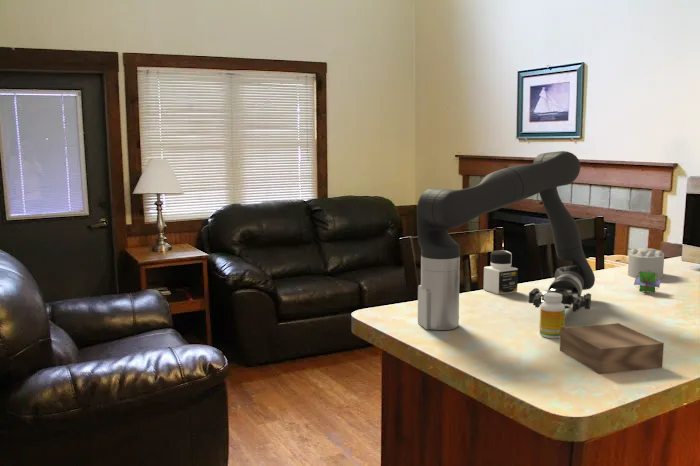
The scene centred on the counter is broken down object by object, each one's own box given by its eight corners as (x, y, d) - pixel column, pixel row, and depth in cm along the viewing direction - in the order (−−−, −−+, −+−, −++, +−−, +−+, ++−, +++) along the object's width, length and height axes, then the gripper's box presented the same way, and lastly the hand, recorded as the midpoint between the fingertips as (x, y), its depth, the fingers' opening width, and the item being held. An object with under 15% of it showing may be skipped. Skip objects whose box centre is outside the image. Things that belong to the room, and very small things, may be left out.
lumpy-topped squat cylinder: (663, 273, 211) (665, 247, 210) (661, 281, 200) (663, 254, 198) (629, 270, 216) (631, 245, 215) (625, 278, 205) (627, 251, 203)
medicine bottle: (498, 295, 184) (499, 254, 182) (482, 289, 190) (483, 250, 188) (517, 292, 187) (519, 252, 185) (501, 287, 193) (502, 248, 192)
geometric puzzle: (658, 290, 179) (661, 265, 182) (631, 287, 182) (635, 263, 185) (659, 301, 184) (662, 276, 187) (633, 298, 188) (637, 273, 191)
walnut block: (599, 374, 122) (600, 349, 122) (559, 350, 136) (560, 328, 135) (662, 367, 125) (663, 343, 125) (617, 345, 139) (618, 323, 138)
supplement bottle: (565, 339, 143) (567, 297, 142) (540, 338, 144) (542, 296, 143) (562, 332, 148) (564, 292, 147) (538, 331, 149) (539, 291, 148)
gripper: (537, 273, 166) (525, 286, 152) (595, 278, 160) (588, 293, 146) (536, 301, 167) (524, 317, 153) (594, 307, 161) (586, 324, 147)
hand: (555, 305), depth 149 cm, fingers open, 8 cm apart
